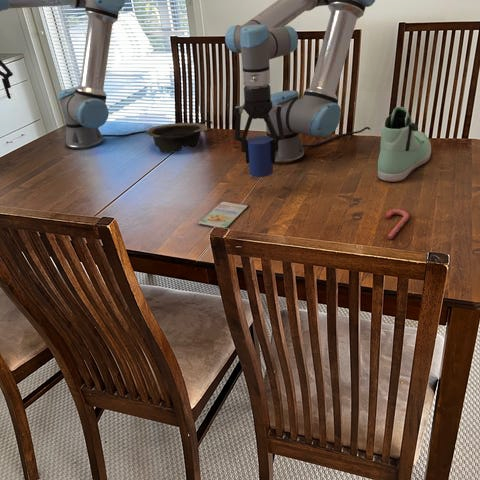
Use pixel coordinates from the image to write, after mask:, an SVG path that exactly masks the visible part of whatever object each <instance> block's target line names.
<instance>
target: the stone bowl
mask: <svg viewBox="0 0 480 480" xmlns="http://www.w3.org/2000/svg"><path fill="white" fill-rule="evenodd" d="M207 130H208V127H207V124H204V123H202V124H199V122H178V123H176V122H175V123H168V124H161V125H156V126H152V127H150V128H149V129H147V132H146V129H145V130H143V131H144V132H146V134H147V135H149V136H150V137H152V138H153V142H154V145H155V146H156V147H157V148H158V150H159V152H161V153H165V154H168V153H169V154H170V153H178V152H180V151H182V150H183V148H190V149H194V148H196V147H197V146H198V145H199V143H200V138H201V132H205V131H207Z"/></svg>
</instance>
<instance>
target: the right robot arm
mask: <svg viewBox="0 0 480 480" xmlns="http://www.w3.org/2000/svg"><path fill="white" fill-rule="evenodd" d="M375 2H376V0H276V1H275V2H274V3H272V4H271V5H269V6H268V7H266V8H265V9H264V10H262V11H261V12H260V13H257V15H255V16H254V17H252V18H251V19H250V20H248V21H246V22H245V23H243V24H242V25H240V24H236V25H231V26H230V27H228V29H226V30H227V31H226V32H225V37H224V41H225V45H226V47H227V49H228V50H229V51H230V52H233V53H238V54H241V65H242V67H241V68H242V83H243V86H244V87H243V99H244V102H243V105H236V106H235V107H234V114H235V126H234V127H235V129H234V141H236V142H237V141H238V142H240V144H241V152H242V153H244V154H245V164H249V155H248V139H247V137H248V133H249V130H250V127H251V124H252V121H253V120H257V119H259V120H263V121H264V123H265V132H266V136H268V137H270V138H271V139H272V142H271V145H272V163H273V164H275V165H276V164H277V165H287V164H292V163H296V162H299V161H301V160H302V159H304V157H305V150H304V148H313V147H318V146H320V145H324V144H326V143H328V142H331V141H334V140H335V139H338V138H341V137H344V136H349V135H355V134H360V133H362V132H364V131H365V130H369V131H370V130H371V128H370V127H369V126H365V127H363V128H362V129H361V130H357V131H351V132H345V133H342V134H338V135H335V136H333V137H330V136H331V135H332V134H334V132H335V131H336V129H337V128H338V126H339V124H340V122H341V117H342V114H341V112H342V109H341V106H340V105H339V104H338V102H339V98H338V96H337V95H336V93H337V90H338V86H339V83H340V79H341V75H342V73H343V72H342V71H343V69H344V65H345V63H346V59H347V55H348V52H349V49H350V45H351V42H352V38H353V34H354V32H355V27H356V25H357V20H359V19H360V18H361V17H363V16H364V13H365V11H366V8H369V7H371V6H373V4H375ZM323 6H325V7H326V6H327V9H328V10H329V12H330V16H329V19H328V22H327V26H326V30H325V33H324V37H323V41H322V43H321V47H320V50H319V54H318V57H317V62H316V65H315V69H314V72H313V77H312V79H311V83H310V86H309V87H308V88H307V89H305V90H304V91H303V94H302V97H300V93H299V91H297V90H293V89H292V90H283V91H277V92H273V93H272V92H271V85H270V83H271V69H270V60H273V59H276V58H279V57H283V56H288V55H289V54H291V53H293V52H295V51H296V49H297V47H298V44H299V36H298V33H297V31H296V30H295V28H294V27H292V26H290V25H288V24H290V23H291V22H292V21H294V20H295V19H296V18H298V17H299V16H301V15H302V14H303V13H304V12H310V11H312V10H314V9H315V8H318V7H323ZM244 111H245V112H246V114H247V115H248V117H247V120H246V122H245V123H246V124H245V126H244V128H243V129H244V130H243V132H242V135H241V125H242V114H243V112H244ZM300 135H305V136H309V137H312V138H319V139H325V138H328V137H330V138H328V139H325V140H323V141H321V142H318V143H314V144H303V142H302V141H301V137H300Z"/></svg>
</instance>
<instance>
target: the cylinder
mask: <svg viewBox="0 0 480 480" xmlns="http://www.w3.org/2000/svg"><path fill="white" fill-rule="evenodd" d="M247 140H248V155H249V163H248V170H249V174H250V176H252V177H255V178H264V177H265V178H267V177H268V176H271V175H272V174H273V173H274V167H273V166H274V163H272V145H271V142H272V139H271V138H270V137H268V136H267V135H255V136H251V137H249V138H248V139H247Z"/></svg>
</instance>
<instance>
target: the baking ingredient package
mask: <svg viewBox="0 0 480 480" xmlns="http://www.w3.org/2000/svg"><path fill="white" fill-rule="evenodd" d="M248 206H249V205H246V204H240V203H236V202H235V203H234V202H229V201H221V202H220V203H219V204H218V205H216V206H215V207H214V208H213V209H212V210H211V211H210V212H209V213H208V214H206V215H205V216H204V217H203V218H202V219H201V220H199V222H198V225H199V224H200V225H204V226H208V227H214V228H215V227H216V228H220V227H226V228H227V227H228V226H229V225H230V224H231V223H233V221H234V220H236V218H237V217H239V215H241V214H242V213H243V211H245V209H247V207H248Z"/></svg>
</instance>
